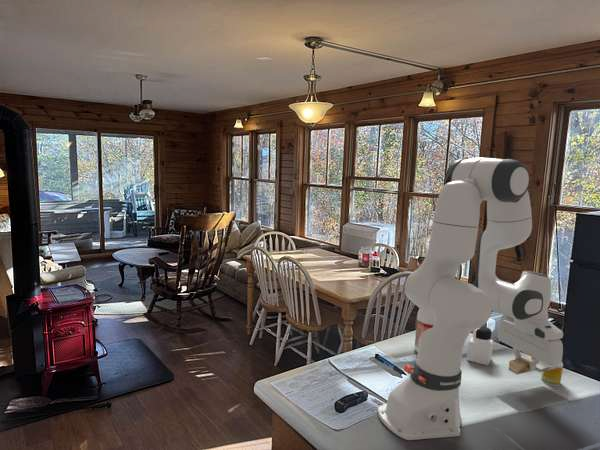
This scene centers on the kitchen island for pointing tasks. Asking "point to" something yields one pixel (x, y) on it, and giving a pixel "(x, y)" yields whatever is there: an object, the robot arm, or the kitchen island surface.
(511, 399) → the mat
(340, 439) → the kitchen island surface
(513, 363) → the putty knife
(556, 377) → the supplement bottle
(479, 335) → the medicine bottle
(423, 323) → the fruit juice
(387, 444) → the kitchen island surface
